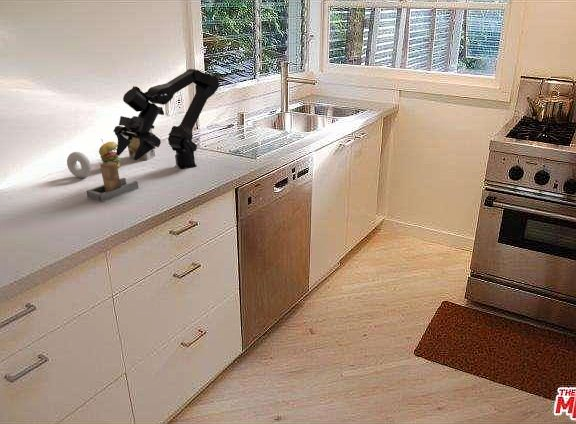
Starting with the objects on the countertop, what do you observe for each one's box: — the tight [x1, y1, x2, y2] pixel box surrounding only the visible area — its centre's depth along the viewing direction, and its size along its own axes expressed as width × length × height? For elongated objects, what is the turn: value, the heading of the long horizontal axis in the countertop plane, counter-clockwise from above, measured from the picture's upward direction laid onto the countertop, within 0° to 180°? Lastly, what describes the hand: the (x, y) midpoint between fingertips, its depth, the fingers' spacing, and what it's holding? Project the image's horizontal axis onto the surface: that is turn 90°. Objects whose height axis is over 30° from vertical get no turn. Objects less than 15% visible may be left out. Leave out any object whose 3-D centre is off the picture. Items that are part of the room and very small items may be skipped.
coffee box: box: [124, 126, 156, 161], centre depth 206 cm, size 9×6×16 cm
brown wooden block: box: [100, 161, 121, 192], centre depth 169 cm, size 4×4×10 cm
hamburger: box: [98, 138, 121, 169], centre depth 195 cm, size 8×7×12 cm
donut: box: [66, 151, 92, 179], centre depth 186 cm, size 10×4×10 cm, turn 69°
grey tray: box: [86, 177, 140, 203], centre depth 171 cm, size 15×8×2 cm, turn 144°
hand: (126, 157), depth 173 cm, fingers open, 9 cm apart
